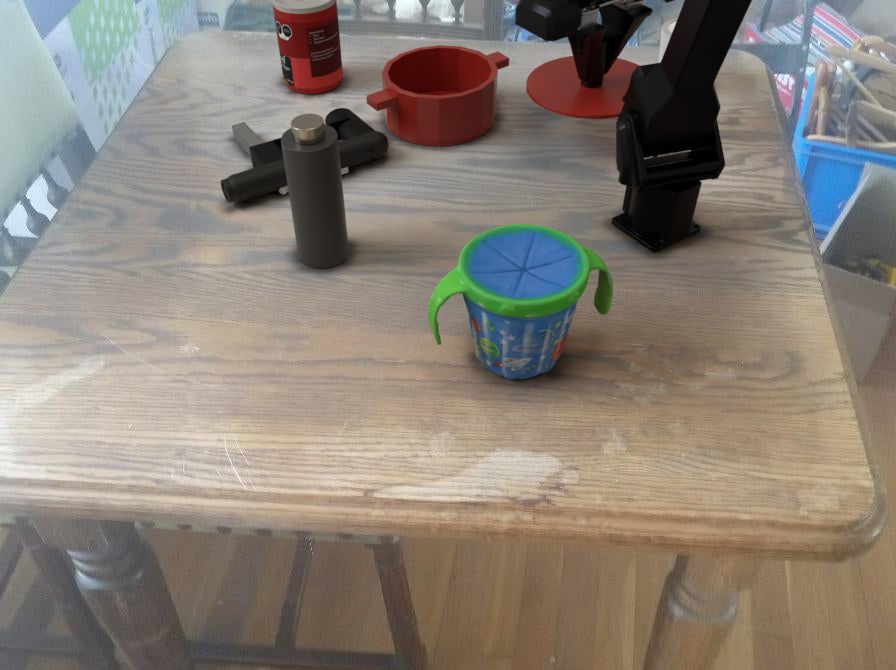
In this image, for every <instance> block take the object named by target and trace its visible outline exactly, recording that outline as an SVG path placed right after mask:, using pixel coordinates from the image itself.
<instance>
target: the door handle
mask: <svg viewBox="0 0 896 670" xmlns="http://www.w3.org/2000/svg"><path fill="white" fill-rule="evenodd" d="M324 124H325V125H328V126H331V127H332V128H334V129H335V130H336V132H337V135H338V145H339V155H340V165H341V175H345V174H349V168H351V167H354V166H358V165H361V164H364V163H367V162H371V161H377V159H379V158H382V157H384V156H385V155H386V154H387V153H388V150H389V149H390V148H389V147H390V142H389V138H388V137H387V136H386V134H384V133H383V132H381V131H378V130H375V128H373V127H372V126H370V124H368V123H366V122H365V121H364V120H363V119H362V118H361V117H359V116H358V115H357V114H356V113H355V112H353V110H351V109H349V108H347V107H338V108H335V109H332V110H331V111H330V112H328V114H327V115H326V116H325V118H324ZM231 130H232V135H233V138H234V140H235V141H236V143H238V144H239V146H240V147H241V148H242V150H244V151H245V152H246V153H247V155H248V156H250V159H251V164H252V168H249V169H246V170H243V171H240V172H236V173H233V174H231V175H229V176H228V177H226V178H224V179H221V180H220V187H221V191H222V194H223V196H224V199H225V201H226V202H227V203H228V204H230V203H233V202H234V203H241V202H244V201H248V200H251V199H254V198H257V197H260V196H264V195H267V194H270V193H273V192H275V191H278V193H279V194H280V195H283V196H284V195H286V194H287V193H289V191H288V185H287V178H286V171H285V165H284V158H283V151H282V145H281V137H278V138H275V139H271V140H268V141H265V142H264V141H263V139H262V138H260V137H259V136H258V135H257V134H256V133H255V131H254V130H252V129H251V127H250V126H249V125H248V124H247V123H246V122H245V121H243V122H239V123H236V124H232V125H231Z"/></svg>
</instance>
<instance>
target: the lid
mask: <svg viewBox="0 0 896 670" xmlns="http://www.w3.org/2000/svg"><path fill="white" fill-rule="evenodd" d="M608 41H609V39H608V37H607V36H605V35H603V38H602V41H601V44H600V47H599V50H598V53H597V57H596V60H595V63H594V66H593V69H592V72H591V74H590V76H589V79H588V81H586V82H583V81H582V80H580V79H579V77H578V74H577V70H576V66H575V62H574V58H573V55H569V56H568V55H567V56H563V57H558V58H555V59H552V60H549V61H546V62H544V63H542V64H540V65H538V66H537V67H536V68H534V69H533V70H532V71H531V72H530V73H529V75H528V76H527V79H526V83H525V89H526V93H527V95H528V97H529V98H530V100H531V101H532V102H534V104H536V105H537V106H538V107H540V108H542V109H543V110H546V111H549V112H551V113H553V114H556V115H559V116H564V117H568V118H574V119H581V120H609V119H611V120H612V119H618V116H619V114H620V112H621V110H622V107H623V105H624V103H625V102H623V101H622V98H623V96H624V95H625V94H626V92H627V90H628V87H629V83H630V79H631V75H632V73H633V72H634V70H635V69H636V68H637V66H641V65H639V64H637V63H636V62H633V61H630V60H627V59H623V58H621V57H618V58H617V59H616V61H615V62H614V64H613V65H612V67H611V68H610V70H609V71H608V73H607V74H605V75H604V70H605V63H606V56H607V48H608Z"/></svg>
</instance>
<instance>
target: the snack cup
mask: <svg viewBox="0 0 896 670" xmlns="http://www.w3.org/2000/svg"><path fill="white" fill-rule="evenodd" d="M594 270H598V279H597V287H596V289H595V292H594V296H593V305H594V308H595V310H597V312H598V313H599V314H600V315H602V316H605V315H607V314H608V313H609V312H610V309H611V306H612V302H613V297H614V282H613V277H612V274H611V272H610V270H609V268H608V265H606V263H605V262H604V260H603V259H602V258H601V257H600V255H598V254H597V253H596V252H595V251H594V250H592V249H591V248H587V247H585V246H582V245H581V243H580V242H578V241H577V240H576V239H574V238H573V237H571V235H568V234H566V233H565V232H562V231H560V230H557V229H555V228H551V227H547V226H543V225H537V224H530V223H529V224H528V223H514V224H505V225H501V226H498V227H494V228H493V227H492V228H491V229H488V230H485V231H483V232H481V233H479V234H478V235H476V236H474V237H473V238H472V239H471V240H469V241H468V242H467V244H465V246H464V247H463V248H462V250H461V252H460V254H459V257H458V263H457V265H456V266H455V267H454V268H453V269H452V270H451V271H449V272H448V273H446V274H445V276H442V278H441V280H440V282H439V283H438V284H437V285H436V287H435V288H434V290H433V292H432V295H431V297H430V299H429V303H428V308H427V320H428V323H429V327H430V329H431V332H432V335H433V338H434V340H435V342H436V344H437V345H438V346H441V345H442V341H441V340H442V339H441V335H440V330H439V329H440V328H439V321H438V313H439V310H440V308H441V307H442V306H443V305H444V304H445V303H446V302H447V301H449V299H450V298H451V297H453V296H455V295H458V294H459V295H460V294H461V295H462V297H463V300H464V303H465V307H466V310H467V312H468V322H469V327H470V333H471V339H472V344H473V350H474V353H475V356H476V359H477V361H478V362H480V363H481V364H482V365H483V367H485V368H486V369H487V370H489V371H490V372H491V373H493V374H496V375H498V376H501V377H503V378H504V379H506V380H512V381H513V380H515V379H525V380H526V379H529V378H533V377H536V376H538V375H540V374H546V373H548V372H549V371H551V370H552V369H553V368H554V366H555V364H556V363H557V361H559V359H560V356H561V354H562V352H563V349H564V346H565V343H566V341H567V337H568V333H569V331H570V330H569V329H570V326H571V324H572V322H573V318H574V314H575V313H576V310H577V304H578V301H579V300H580V298H581V297H582V296H583V294H584V292H585V290H586V288H587V287H588V283H589V278H590V273H591V272H592V271H594Z"/></svg>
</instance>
